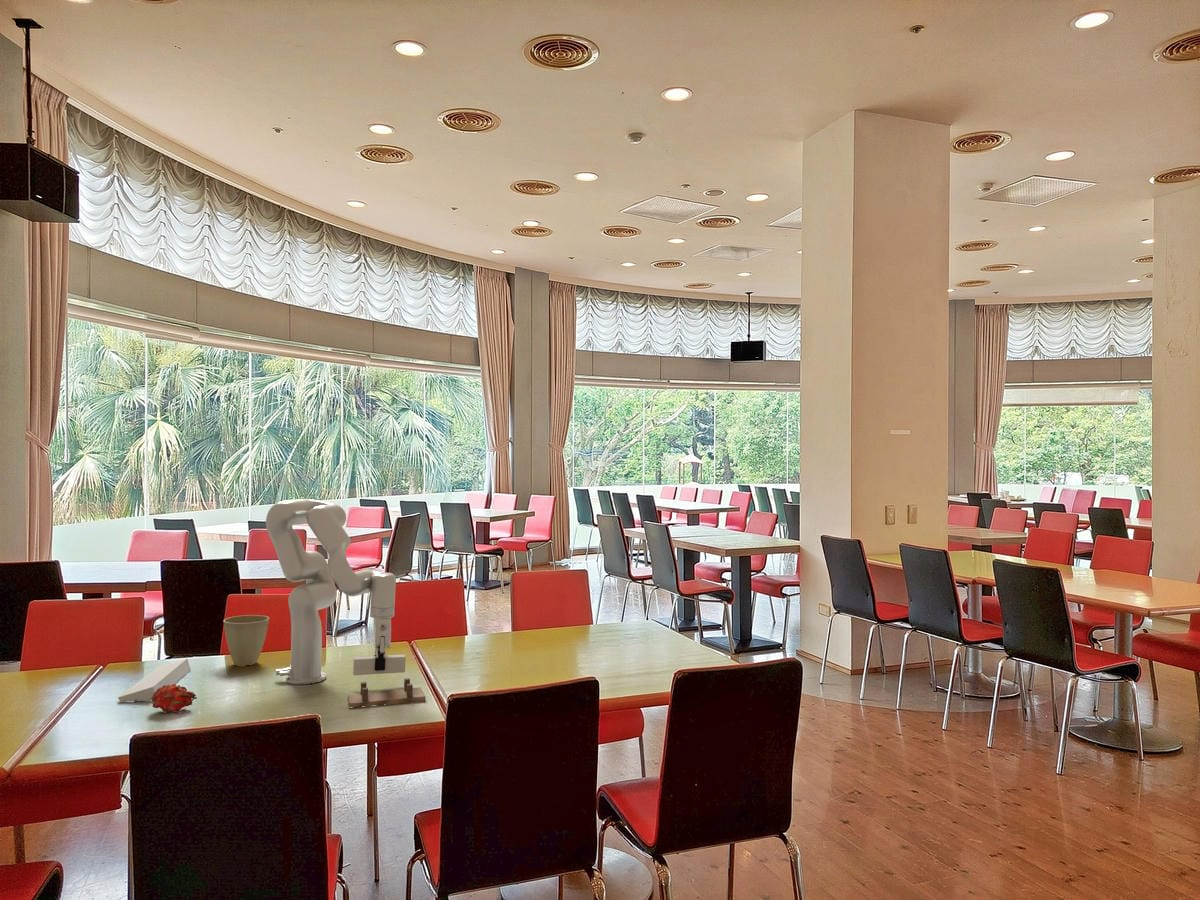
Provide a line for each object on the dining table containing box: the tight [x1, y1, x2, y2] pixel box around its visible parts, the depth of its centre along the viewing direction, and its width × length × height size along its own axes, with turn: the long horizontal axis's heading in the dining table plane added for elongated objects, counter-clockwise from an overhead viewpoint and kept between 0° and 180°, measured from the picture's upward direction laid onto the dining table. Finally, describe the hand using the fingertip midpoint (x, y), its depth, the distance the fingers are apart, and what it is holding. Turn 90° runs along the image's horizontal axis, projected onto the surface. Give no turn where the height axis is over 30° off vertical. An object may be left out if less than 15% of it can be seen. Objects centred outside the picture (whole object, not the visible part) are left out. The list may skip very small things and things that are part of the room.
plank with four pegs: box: [347, 677, 426, 708], centre depth 244 cm, size 22×10×5 cm, turn 110°
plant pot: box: [223, 614, 270, 667], centre depth 284 cm, size 15×15×16 cm
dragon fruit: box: [151, 684, 198, 714], centre depth 232 cm, size 8×8×12 cm
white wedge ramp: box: [117, 658, 192, 703], centre depth 257 cm, size 34×5×10 cm
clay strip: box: [352, 653, 407, 676], centre depth 257 cm, size 16×3×5 cm, turn 110°
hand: (379, 668), depth 257 cm, fingers closed on clay strip, 2 cm apart
